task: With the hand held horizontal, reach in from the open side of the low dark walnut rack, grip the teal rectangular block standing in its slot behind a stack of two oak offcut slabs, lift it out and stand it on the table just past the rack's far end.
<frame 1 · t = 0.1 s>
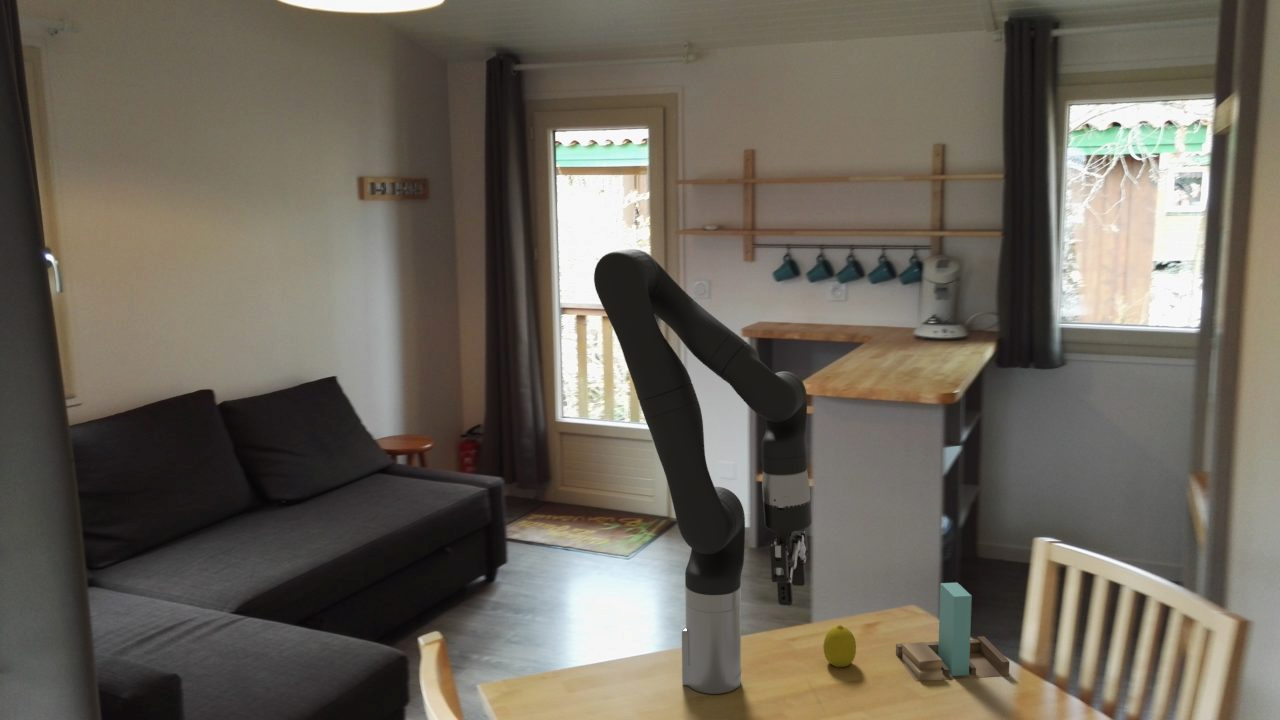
hand: (792, 594, 163), 17 cm above the table, tool pointing down, fingers open, 8 cm apart
rack: (950, 670, 173), on the table
lemon: (839, 670, 174), on the table
offcut lower: (921, 669, 171), point 1 cm above the table, touching offcut upper, rack
offcut upper: (921, 659, 172), point 2 cm above the table, touching offcut lower
teal rectangular block: (953, 667, 172), point 1 cm above the table, touching rack
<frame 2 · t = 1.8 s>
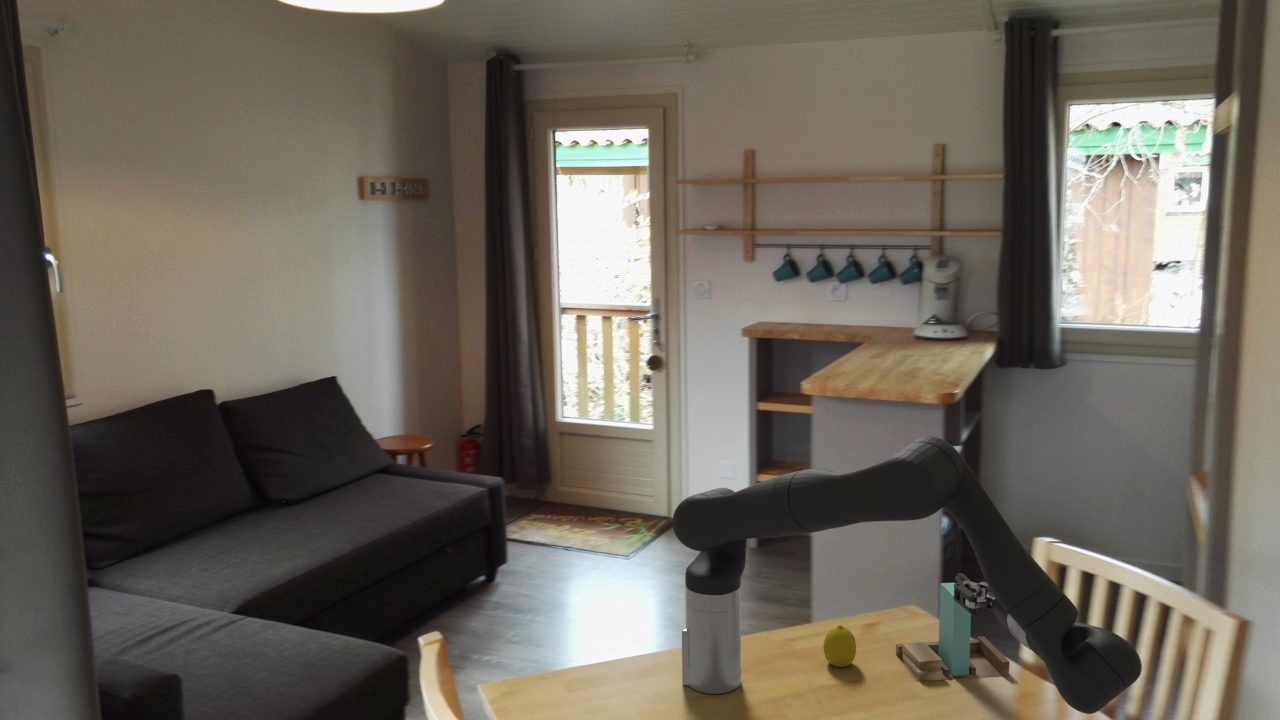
hand: (985, 577, 158), 21 cm above the table, tool horizontal, fingers open, 8 cm apart
nothing on the table moved.
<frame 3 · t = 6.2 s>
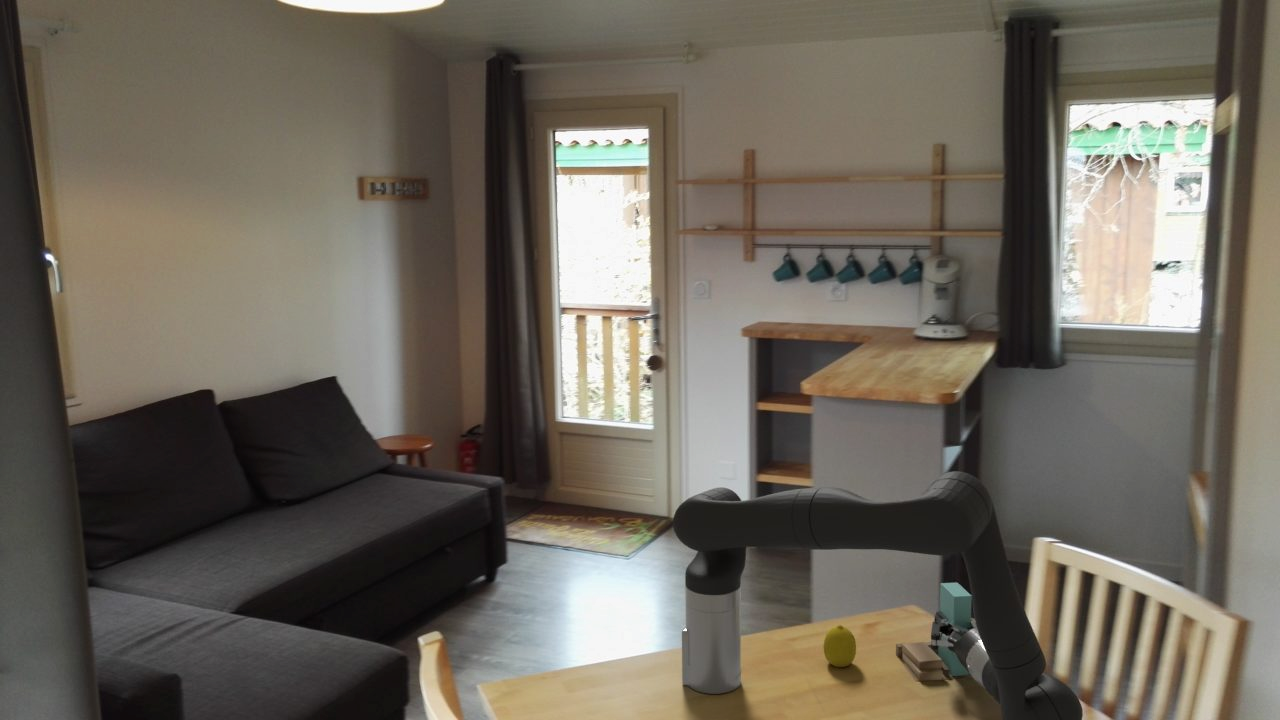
hand: (947, 616, 173), 9 cm above the table, tool horizontal, fingers closed on teal rectangular block, 3 cm apart
teal rectangular block: (953, 667, 172), point 1 cm above the table, touching gripper, rack
everything else where it was.
when the fingers open (9 cm above the table, at t = 11.3 s): teal rectangular block drops 1 cm, on the table.
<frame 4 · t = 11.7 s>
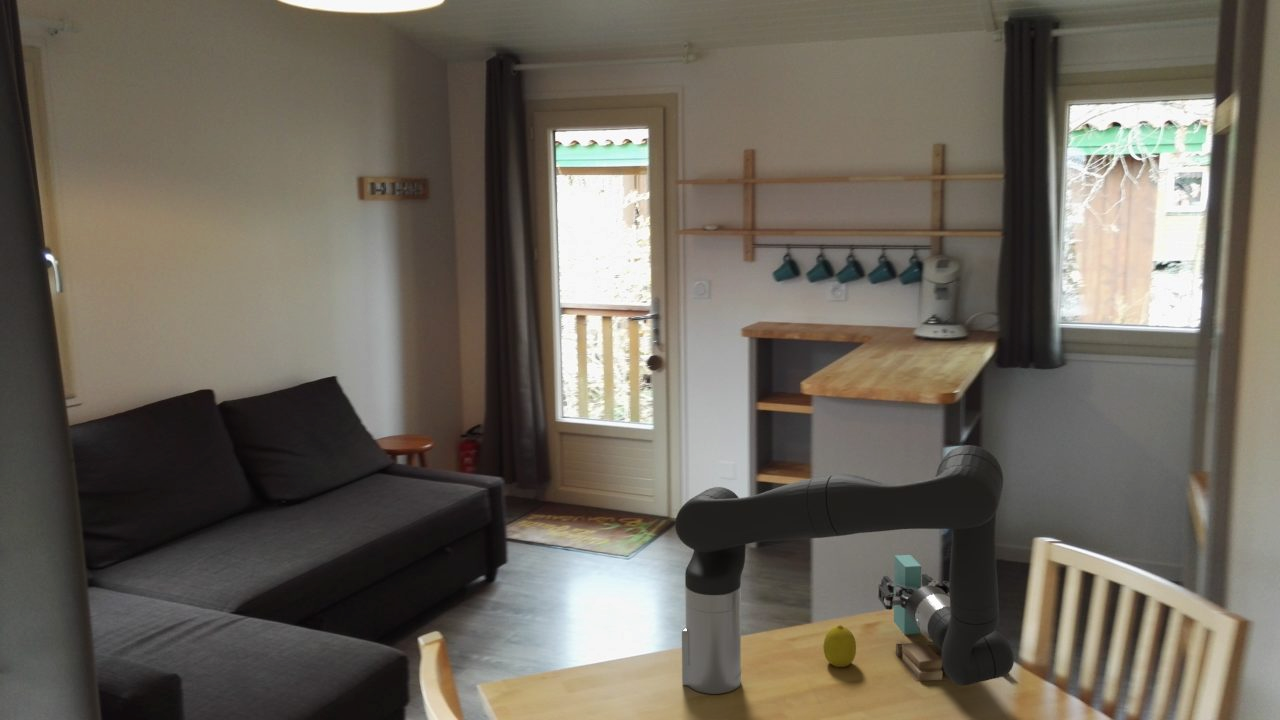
hand: (904, 580, 189), 10 cm above the table, tool horizontal, fingers open, 7 cm apart
teal rectangular block: (906, 632, 188), on the table
everything else where it was.
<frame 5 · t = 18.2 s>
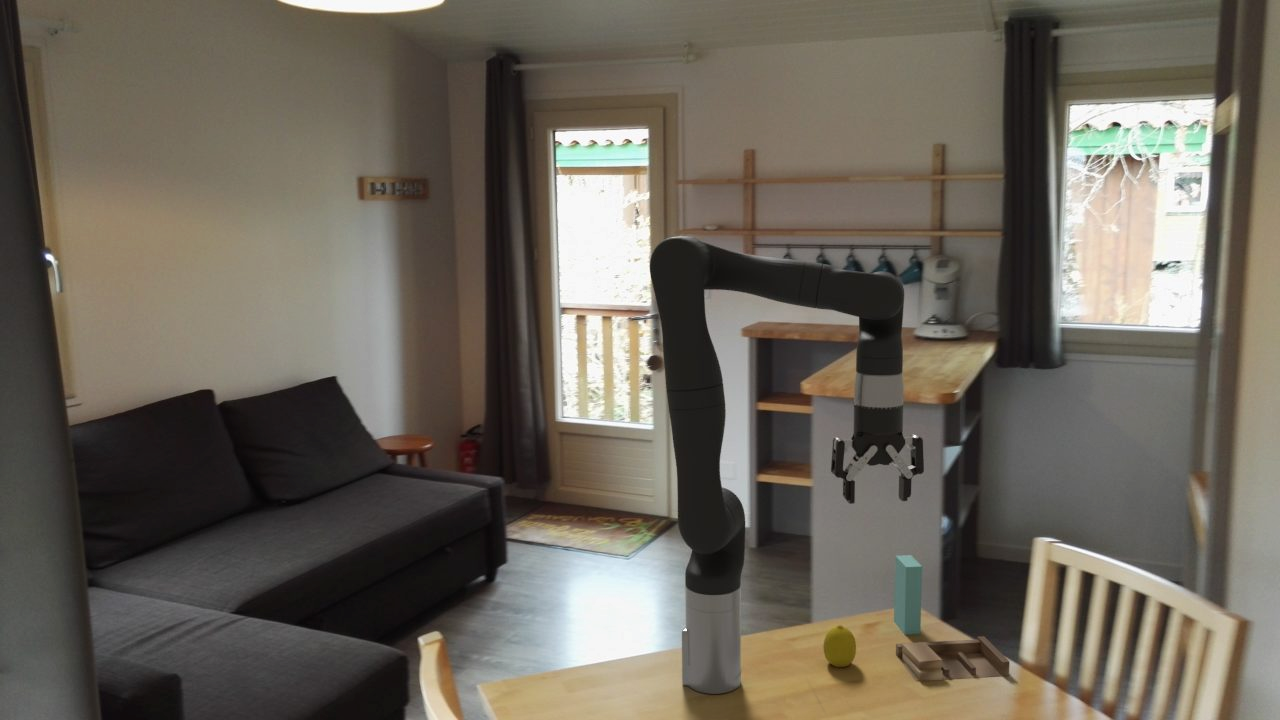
hand: (876, 501, 159), 33 cm above the table, tool pointing down, fingers open, 8 cm apart
nothing on the table moved.
at the end: teal rectangular block inside the target area (0.2 cm from its centre), on the table; teal rectangular block tilted 0°; the gripper is holding nothing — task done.
